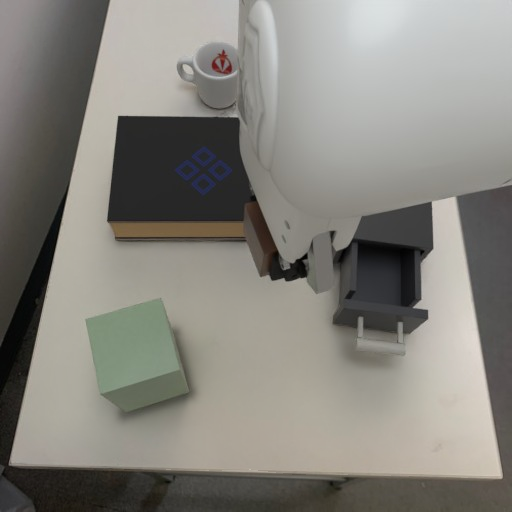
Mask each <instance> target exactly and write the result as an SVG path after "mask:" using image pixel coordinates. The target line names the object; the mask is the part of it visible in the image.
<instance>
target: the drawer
mask: <svg viewBox="0 0 512 512" xmlns="http://www.w3.org/2000/svg"><path fill="white" fill-rule="evenodd" d="M421 300H422V262H421V257H420V250H418V249H410V248H402V247H395V246H387V245H380V244H372V243H365V242H357V241H351V242H350V244H349V245H348V246H347V247H346V248H344V250H343V252H342V262H341V265H340V285H339V304H338V308H337V309H336V311H335V312H334V314H333V316H332V325H336V326H345V327H346V326H347V327H351V328H357V331H356V337H355V339H354V345H353V347H354V350H355V351H361V352H368V353H375V354H376V353H377V354H385V355H391V356H392V355H393V356H398V357H405V355H406V352H407V346H406V344H405V343H404V335H405V334H406V335H410V334H411V333H413V332H414V331H415V330H417V329H418V328H419V327H420V326H422V325H424V323H425V322H427V321H428V320H429V309H423V308H417V307H415V306H416V305H418V303H420V302H421ZM364 329H368V330H375V331H384V332H390V333H396V342H392V341H385V340H378V339H371V338H364Z"/></svg>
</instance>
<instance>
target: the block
mask: <svg viewBox="0 0 512 512" xmlns="http://www.w3.org/2000/svg"><path fill="white" fill-rule="evenodd" d="M243 233H244V236H245V238H246V240H245V241H246V244H247V246H248V249H249V252H250V254H251V256H252V260H253V262H254V265H255V268H256V270H257V273H258V276H259V277H260V278H262V277H266V276H269V273H270V269H271V264H272V259H273V256H274V255H275V254H277V253H278V252H279V251H278V249H277V247H276V245H275V242H274V240H273V238H272V235H271V233H270V230H269V228H268V225H267V223H266V221H265V218H264V216H263V213H262V211H261V208H260V206H259V203H258V201H254V202H251V203H247V204H245V208H244V222H243Z"/></svg>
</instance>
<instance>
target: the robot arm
mask: <svg viewBox="0 0 512 512" xmlns="http://www.w3.org/2000/svg"><path fill="white" fill-rule="evenodd" d="M237 22H238V23H237V48H238V57H237V92H236V101H235V106H236V108H235V109H236V113H237V117H238V118H239V120H240V133H239V140H240V153H241V157H242V161H243V164H244V167H245V170H246V172H247V175H248V178H249V186H250V190H251V192H252V194H253V195H254V196H250V199H249V203H251V202H254V201H258V203H259V206H260V208H261V211H262V213H263V216H264V218H265V221H266V223H267V225H268V228H269V230H270V233H271V235H272V238H273V240H274V242H275V245H276V247H277V249H278V251H279V252H278V253H277V254H275V255H274V256H273V259H272V264H271V269H270V273H269V275H268V276H269V278H270V281H272V282H275V281H279V280H282V279H284V281H285V282H293V281H296V280H298V279H301V280H302V279H304V278H305V279H306V283H307V284H308V286H309V287H310V288H311V289H312V291H313V292H314V293H315V294H316V295H320V294H322V293H325V292H328V291H332V290H334V289H335V287H336V284H335V283H336V282H335V271H334V264H333V258H332V245H333V247H334V249H335V251H339V250H341V249H344V248H346V247H347V246H348V245H349V244H350V242H351V240H352V238H353V236H354V234H355V232H356V230H357V227H358V225H359V222H360V220H361V217H362V216H367V215H372V214H377V213H382V212H387V211H392V210H396V209H401V208H405V207H409V206H414V205H419V204H423V203H428V202H432V203H433V202H436V201H441V200H446V199H451V198H455V197H459V196H464V195H465V196H466V195H469V194H474V193H478V192H483V191H485V192H486V191H491V190H494V189H499V188H503V187H508V186H512V0H238V20H237Z"/></svg>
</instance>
